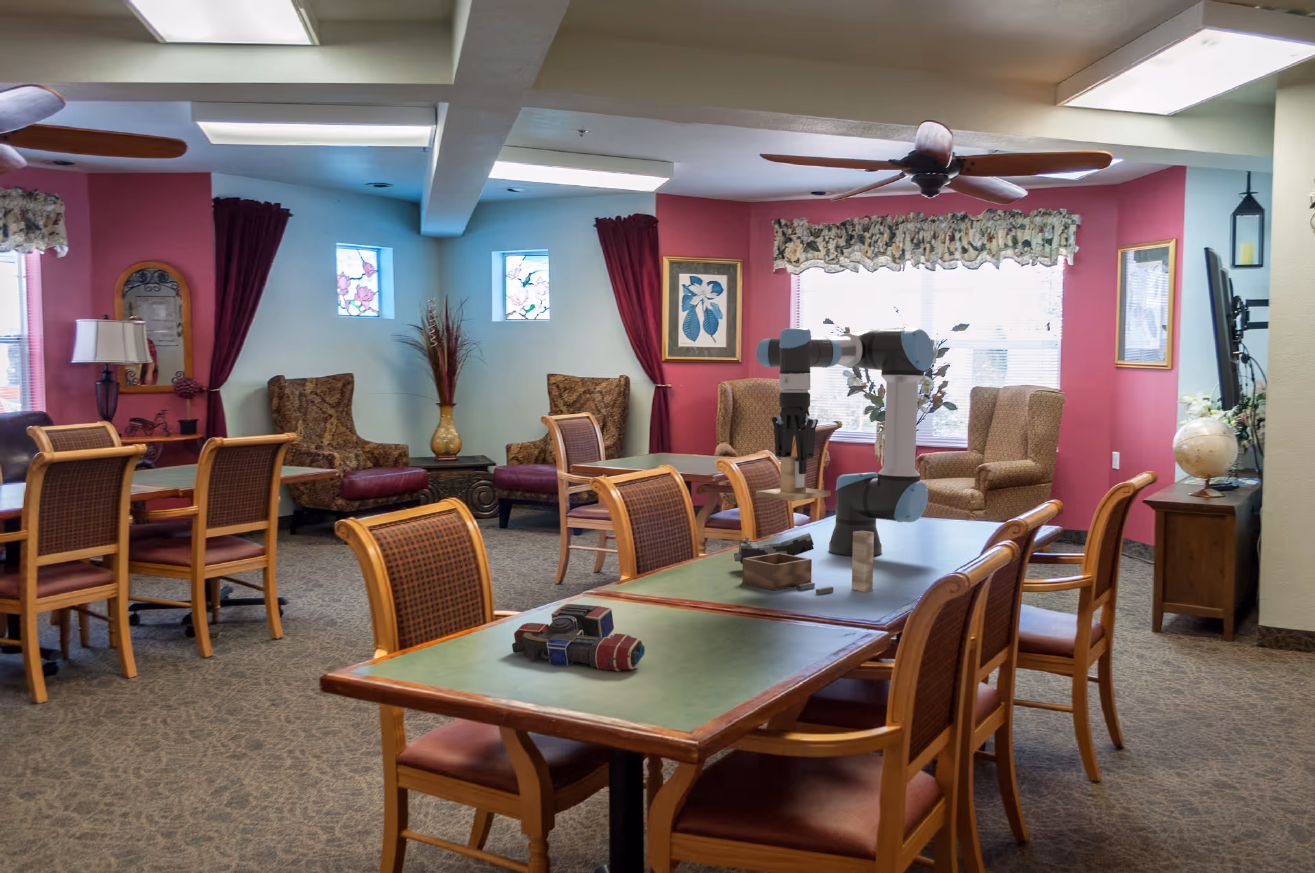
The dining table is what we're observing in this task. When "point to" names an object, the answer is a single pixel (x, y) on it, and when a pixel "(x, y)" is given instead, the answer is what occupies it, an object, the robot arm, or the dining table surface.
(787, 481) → the lid
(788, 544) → the toy
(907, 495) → the robot arm
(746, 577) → the open wooden box
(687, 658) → the dining table surface
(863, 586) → the tan block
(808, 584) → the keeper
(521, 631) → the multicoloured piece
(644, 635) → the dining table surface
